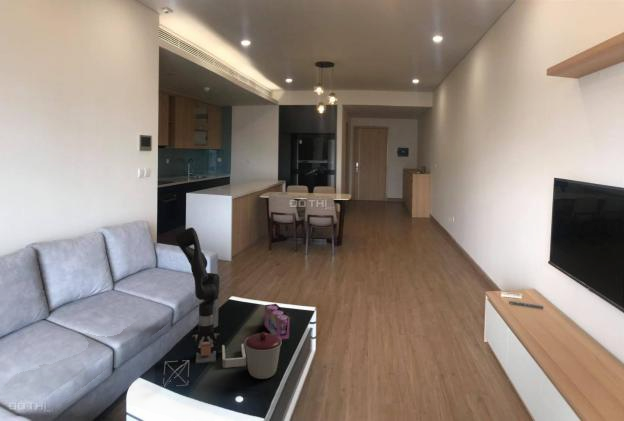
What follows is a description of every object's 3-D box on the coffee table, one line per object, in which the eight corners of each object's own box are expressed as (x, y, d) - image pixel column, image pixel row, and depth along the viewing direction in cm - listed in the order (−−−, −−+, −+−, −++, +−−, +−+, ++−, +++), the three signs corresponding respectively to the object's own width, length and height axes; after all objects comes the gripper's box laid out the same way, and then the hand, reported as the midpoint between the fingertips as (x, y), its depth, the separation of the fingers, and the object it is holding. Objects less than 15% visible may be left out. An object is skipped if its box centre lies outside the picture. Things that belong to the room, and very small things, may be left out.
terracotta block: (201, 351, 212) (201, 342, 211) (210, 350, 213) (210, 341, 213) (200, 355, 207) (200, 346, 207) (210, 355, 208) (210, 346, 208)
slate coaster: (196, 354, 213) (196, 352, 213) (215, 352, 215) (215, 351, 215) (195, 363, 203) (195, 361, 203) (216, 361, 206) (216, 360, 206)
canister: (265, 388, 184) (266, 344, 181) (235, 375, 193) (236, 334, 191) (288, 371, 199) (289, 330, 196) (259, 360, 209) (260, 321, 206)
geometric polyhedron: (167, 392, 178) (167, 373, 177) (158, 381, 186) (158, 363, 185) (194, 383, 186) (194, 364, 185) (184, 373, 194) (184, 355, 193)
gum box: (290, 339, 234) (291, 317, 232) (277, 341, 231) (278, 319, 229) (275, 323, 255) (276, 303, 254) (264, 325, 252) (264, 304, 250)
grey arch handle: (222, 352, 216) (222, 345, 215) (243, 350, 218) (243, 343, 218) (222, 367, 200) (222, 360, 200) (245, 365, 203) (246, 358, 202)
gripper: (191, 326, 201) (191, 358, 204) (220, 324, 205) (220, 355, 207) (191, 320, 209) (192, 351, 211) (220, 318, 212) (219, 349, 214)
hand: (205, 353), depth 209 cm, fingers closed on terracotta block, 5 cm apart
